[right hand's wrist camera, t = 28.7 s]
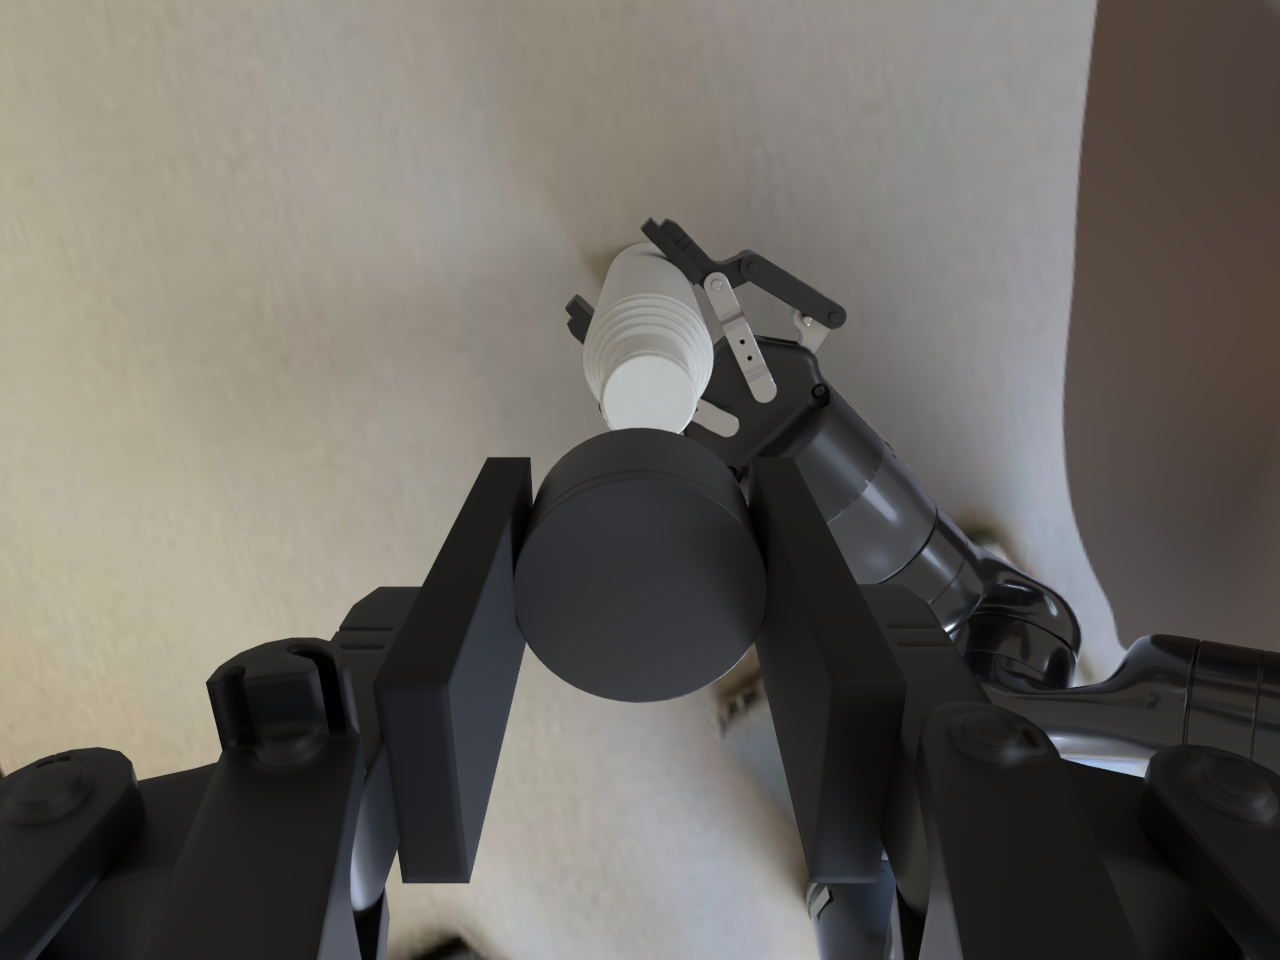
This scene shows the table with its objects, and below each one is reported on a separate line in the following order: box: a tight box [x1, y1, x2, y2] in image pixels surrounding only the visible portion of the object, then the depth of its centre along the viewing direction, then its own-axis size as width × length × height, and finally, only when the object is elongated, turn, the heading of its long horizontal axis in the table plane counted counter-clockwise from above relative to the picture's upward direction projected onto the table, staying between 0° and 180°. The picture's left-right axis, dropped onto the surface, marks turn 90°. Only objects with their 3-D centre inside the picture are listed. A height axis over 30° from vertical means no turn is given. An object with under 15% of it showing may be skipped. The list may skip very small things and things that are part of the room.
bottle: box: [583, 243, 713, 434], centre depth 35 cm, size 5×5×25 cm
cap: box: [513, 428, 767, 703], centre depth 13 cm, size 4×4×2 cm
